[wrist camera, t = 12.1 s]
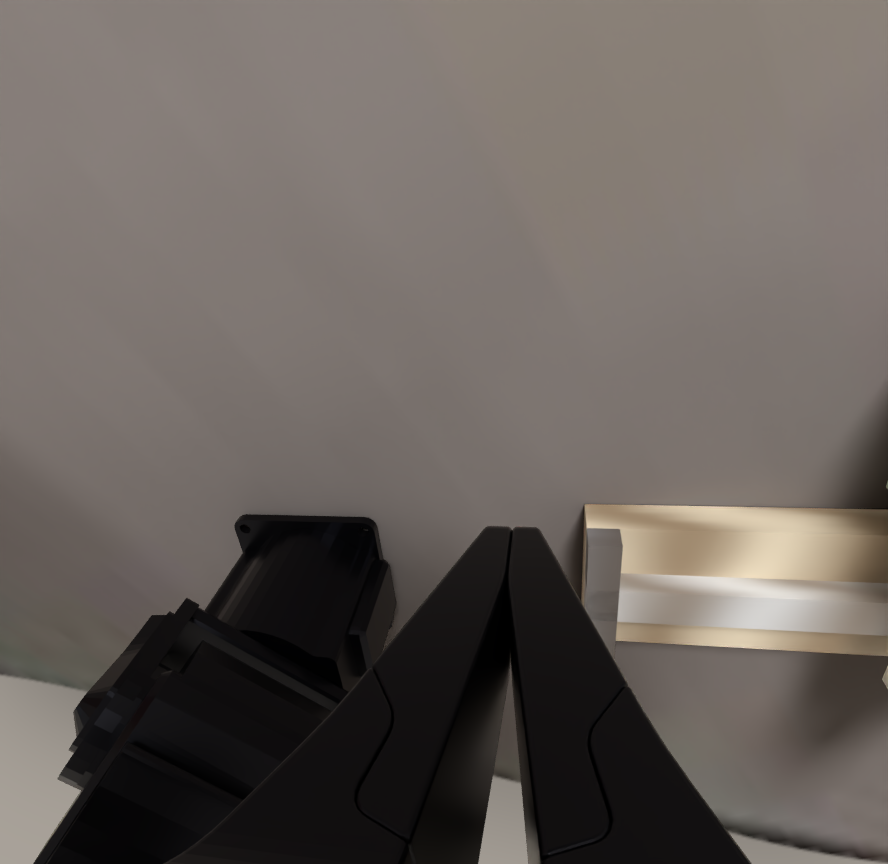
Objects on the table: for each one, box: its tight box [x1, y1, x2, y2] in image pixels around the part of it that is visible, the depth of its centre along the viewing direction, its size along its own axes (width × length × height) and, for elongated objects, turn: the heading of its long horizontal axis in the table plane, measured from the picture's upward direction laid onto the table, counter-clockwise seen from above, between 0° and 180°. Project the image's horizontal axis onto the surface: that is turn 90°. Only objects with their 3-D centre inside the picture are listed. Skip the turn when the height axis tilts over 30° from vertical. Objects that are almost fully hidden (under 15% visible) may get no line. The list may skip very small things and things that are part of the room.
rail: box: [581, 504, 888, 658], centre depth 22 cm, size 18×6×2 cm, turn 95°
